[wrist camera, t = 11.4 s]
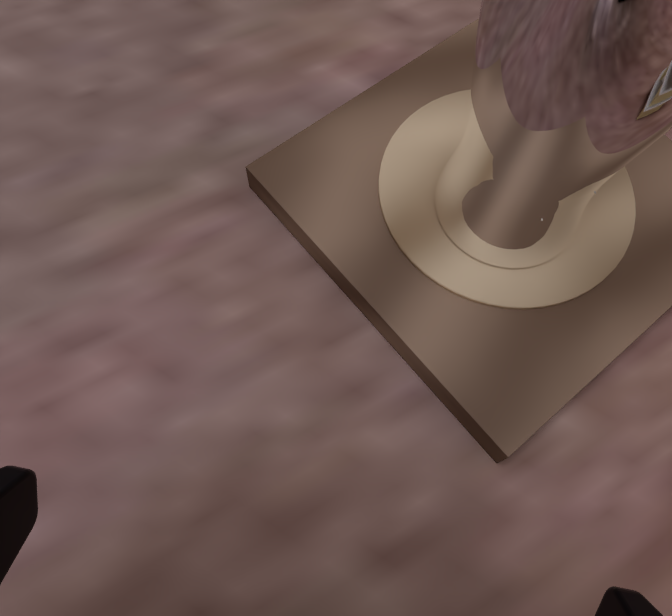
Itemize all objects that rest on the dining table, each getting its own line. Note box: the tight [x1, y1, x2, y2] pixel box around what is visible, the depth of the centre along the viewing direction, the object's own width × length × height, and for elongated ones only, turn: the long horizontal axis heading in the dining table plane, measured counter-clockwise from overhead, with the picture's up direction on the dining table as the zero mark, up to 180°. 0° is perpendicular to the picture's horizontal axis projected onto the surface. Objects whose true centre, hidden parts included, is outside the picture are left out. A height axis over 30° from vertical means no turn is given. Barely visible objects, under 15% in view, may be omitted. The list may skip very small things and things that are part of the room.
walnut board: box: [246, 19, 672, 463], centre depth 26 cm, size 16×16×2 cm
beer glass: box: [435, 0, 672, 269], centre depth 18 cm, size 7×7×15 cm
